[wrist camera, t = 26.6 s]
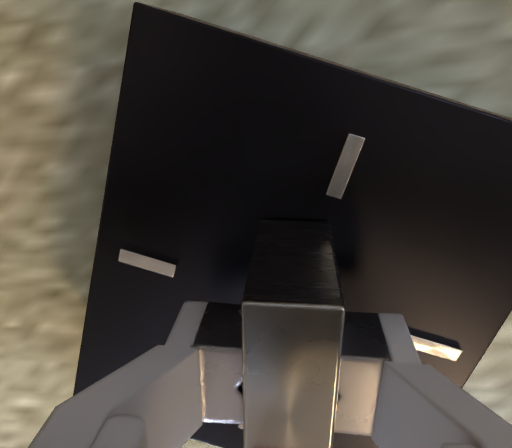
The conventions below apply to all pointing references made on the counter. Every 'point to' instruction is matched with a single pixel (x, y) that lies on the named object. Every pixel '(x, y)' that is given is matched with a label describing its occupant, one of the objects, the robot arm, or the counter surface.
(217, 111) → the panel
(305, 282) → the knob
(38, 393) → the counter surface
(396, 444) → the robot arm
